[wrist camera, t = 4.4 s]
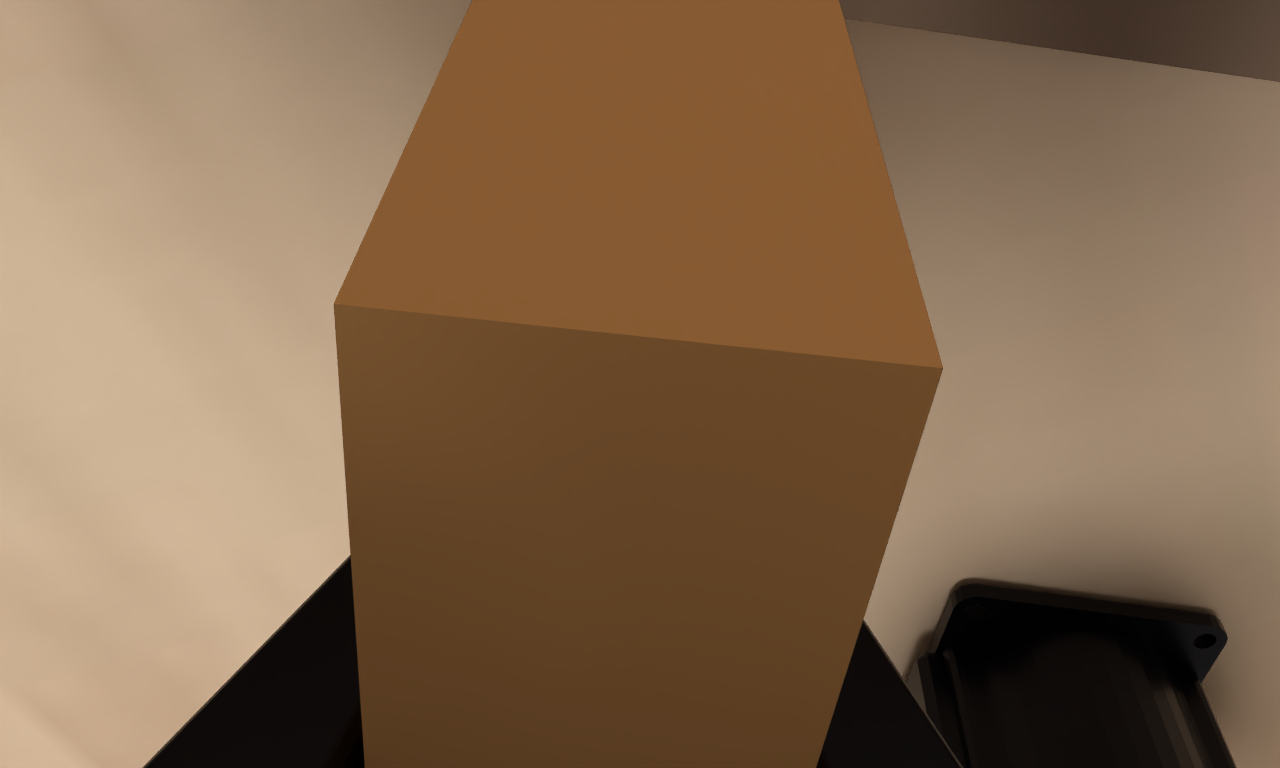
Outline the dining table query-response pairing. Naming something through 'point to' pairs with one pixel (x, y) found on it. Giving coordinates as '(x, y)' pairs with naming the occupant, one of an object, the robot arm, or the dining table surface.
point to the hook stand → (1107, 28)
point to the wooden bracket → (627, 391)
